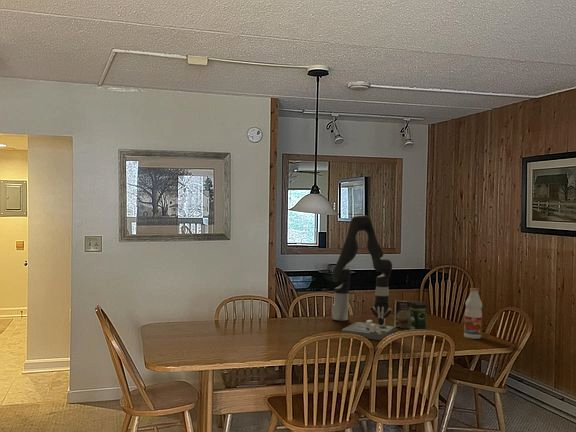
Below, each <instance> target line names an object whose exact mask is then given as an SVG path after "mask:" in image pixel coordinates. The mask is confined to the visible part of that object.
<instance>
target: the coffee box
mask: <svg viewBox="0 0 576 432" xmlns="http://www.w3.org/2000/svg"><path fill="white" fill-rule="evenodd" d="M394 302H395V303H394V321H393V326H394V327H395V328H396V327H400V328H399V329H409V324H410V303H411V302H412V301H410V300H404V299H403V300H401V299H400V300H399V299H395V300H394Z"/></svg>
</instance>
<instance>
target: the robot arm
mask: <svg viewBox="0 0 576 432" xmlns="http://www.w3.org/2000/svg"><path fill="white" fill-rule="evenodd" d="M362 231H363V232H366V234H367V242H366V247H367V251H368V253H369V255H370V256H371V260H372V266H373V269H374V270H375V271H376V272H378V273H381V274H380V275H378V276H376V281H375V294H374V297H375V298H374V299H375V300H374V304H373V306H372V307H370V310H371V313H372V314H373V315H374V317H375V318H377V319H378V320H377V321H378V322H377V323H378V325H383V324H384V319H386V318H387V317H389V316H390V315H391V313H392V312H393V309H392V308H390V304H389V302H390V301H389V298H390V297H389V295H390V293H389V292H390V289H389V283H390V277H391V274H392V271H393V264H392V261H391V260H390V259H386V258H385V259H381V258H382V257H384V251H383V249H382V247H381V246H380V243H379V241H378V239H377V236H376V233H375V232H376V231H375V229H374V225H373V224H372V220H371V219H370V217H369V216H368V215H365V214H364V215H361V214H360V215H354V216H353V217H352V218H351V219H350V222H349V227H348V231H347V235H346V238H345V240H344V243H343V246H342V248H341V252H340V255H339V257H338V259H337V261H336V264H335V266H334V267H333V270H332V274H331V278H332V281H333V282H335V283H341V284H339V286H336V287H335V288H334V290H333V292H334V295H333V304H332V314H331V315H332V318H331V320H334V321H342V322H343V321H348V320H349V319H348V318H349V295H350V294H349V291H350V287H351V286H350V284H351V270H350V268H348V267H346V266H347V265H348V264H350V263H351V262H352V261H353V260H354V259H355V257H356V256H357V253H358V250H359V244H358V241H357V238H356V237H357V234H358V232H362Z"/></svg>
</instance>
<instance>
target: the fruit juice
mask: <svg viewBox="0 0 576 432" xmlns="http://www.w3.org/2000/svg"><path fill="white" fill-rule="evenodd" d="M479 291H480V288H478V287H477V288H476V287H470V288H469V295H468V297H467V299H466V300H465V311H464V326H463V327H464V329H463V337H465V338H467V339H474V340H477V339H478V340H480V339H481V338H482V328H483V327H482V323H483V312H482V308H483V302H482V300H481V297H480V294H479Z"/></svg>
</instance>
